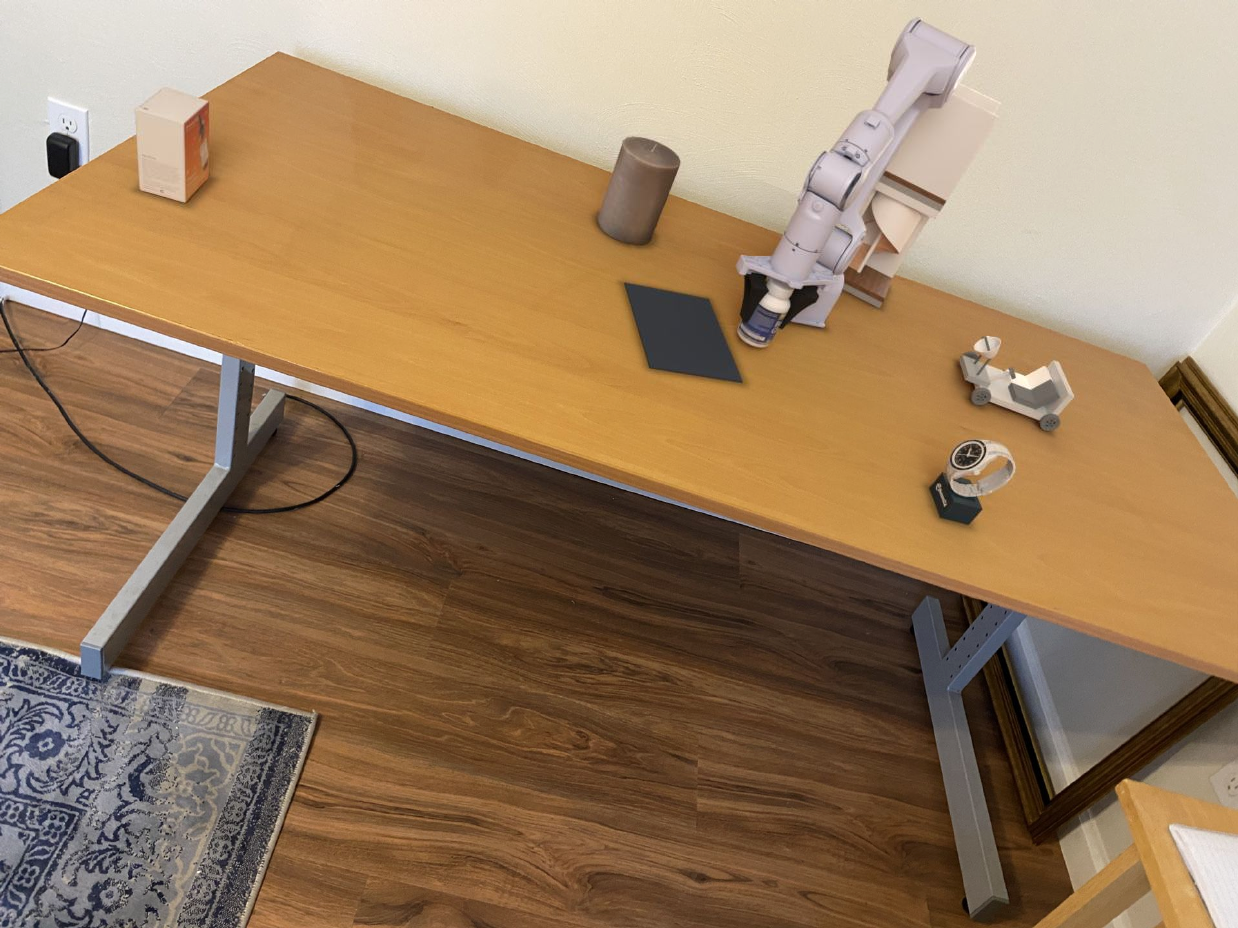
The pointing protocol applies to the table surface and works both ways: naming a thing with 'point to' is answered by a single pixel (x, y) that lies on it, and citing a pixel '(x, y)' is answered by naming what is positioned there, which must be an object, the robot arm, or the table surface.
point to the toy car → (1017, 385)
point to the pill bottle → (767, 315)
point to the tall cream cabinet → (917, 187)
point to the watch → (958, 493)
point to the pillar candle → (638, 190)
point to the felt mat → (681, 333)
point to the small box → (172, 144)
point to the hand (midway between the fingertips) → (760, 321)
